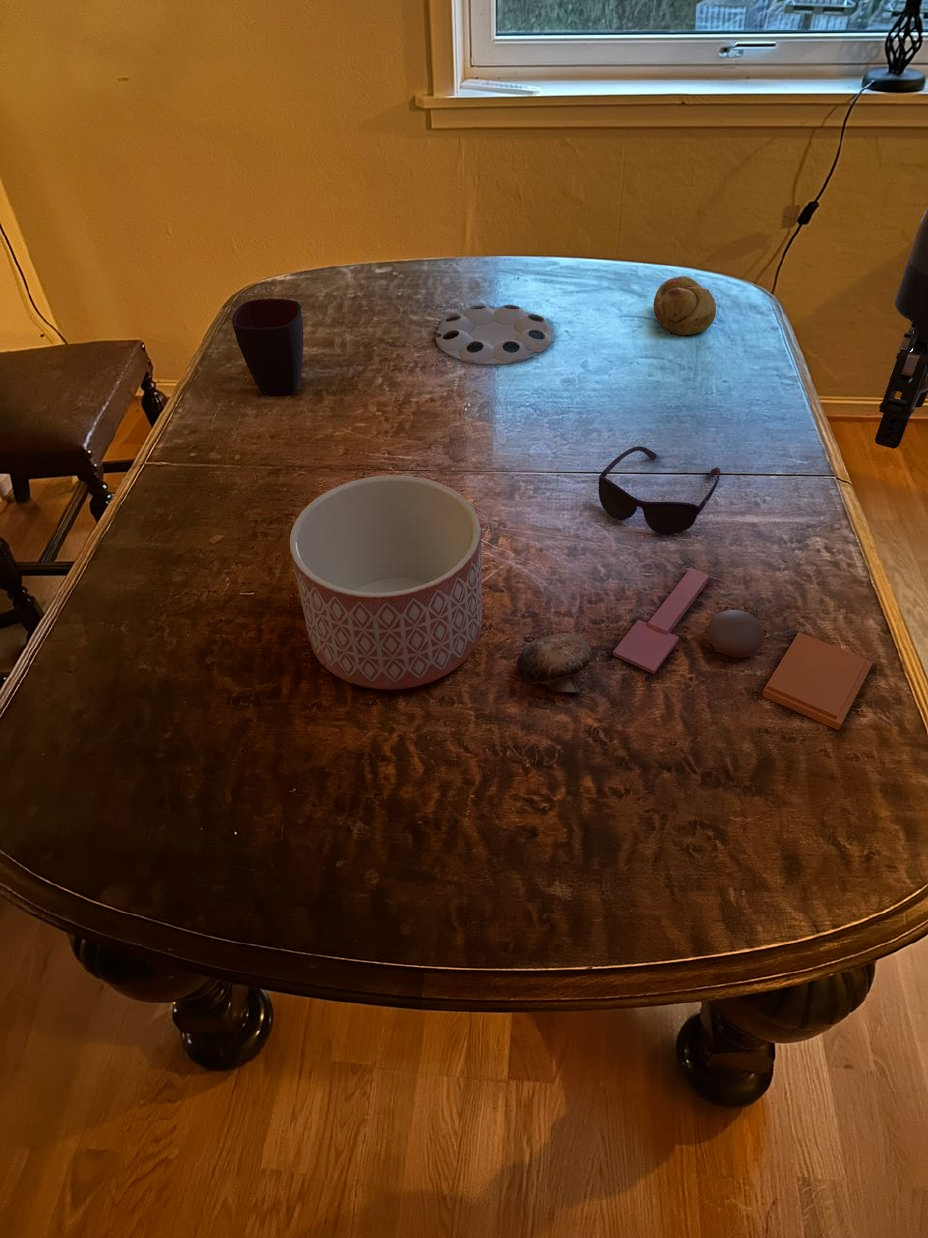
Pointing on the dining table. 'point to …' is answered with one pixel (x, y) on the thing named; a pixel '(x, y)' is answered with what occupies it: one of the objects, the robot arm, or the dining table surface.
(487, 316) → the paint palette
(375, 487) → the planter
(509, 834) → the dining table surface
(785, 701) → the brown flat block
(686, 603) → the spatula
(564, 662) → the mushroom
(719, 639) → the egg
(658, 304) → the bread roll
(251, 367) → the cup
